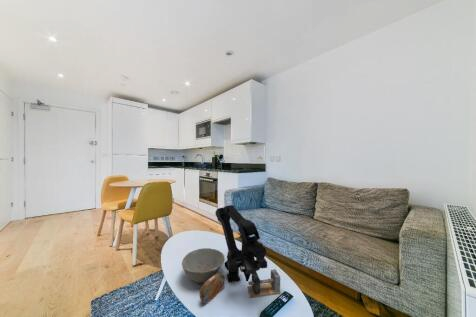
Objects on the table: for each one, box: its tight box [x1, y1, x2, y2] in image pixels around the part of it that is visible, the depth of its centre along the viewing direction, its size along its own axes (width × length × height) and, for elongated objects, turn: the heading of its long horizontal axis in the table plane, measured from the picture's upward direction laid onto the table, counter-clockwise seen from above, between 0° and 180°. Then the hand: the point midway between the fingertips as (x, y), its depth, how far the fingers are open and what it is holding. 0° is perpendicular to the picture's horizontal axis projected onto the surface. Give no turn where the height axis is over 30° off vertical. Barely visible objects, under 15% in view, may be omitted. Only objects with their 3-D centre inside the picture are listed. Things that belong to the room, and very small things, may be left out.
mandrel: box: [246, 269, 281, 299], centre depth 92 cm, size 7×15×8 cm, turn 102°
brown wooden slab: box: [199, 272, 226, 304], centre depth 88 cm, size 15×3×8 cm, turn 144°
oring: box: [251, 271, 261, 294], centre depth 91 cm, size 6×2×6 cm, turn 12°
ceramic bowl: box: [181, 247, 226, 284], centre depth 101 cm, size 22×23×10 cm
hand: (246, 280), depth 90 cm, fingers closed
